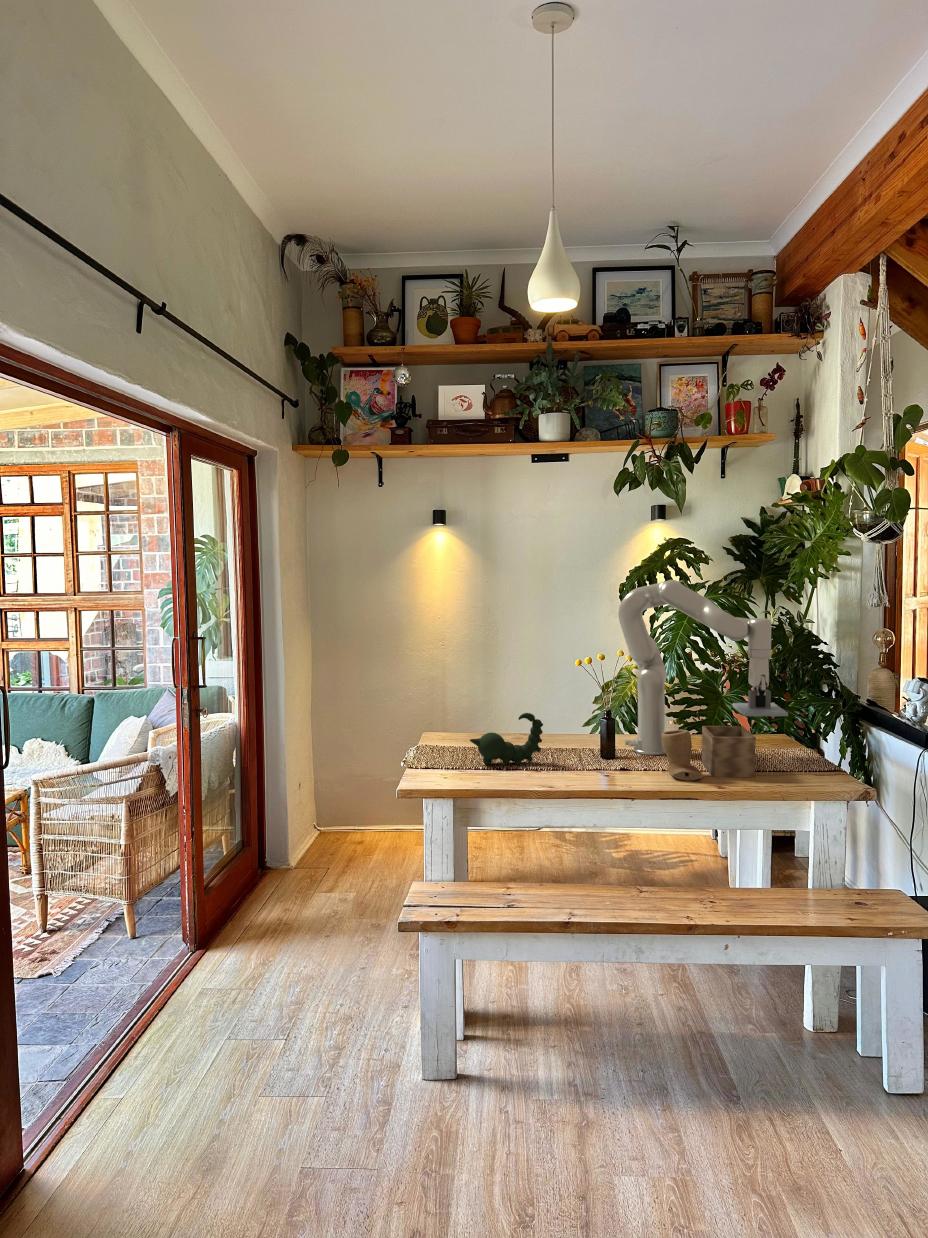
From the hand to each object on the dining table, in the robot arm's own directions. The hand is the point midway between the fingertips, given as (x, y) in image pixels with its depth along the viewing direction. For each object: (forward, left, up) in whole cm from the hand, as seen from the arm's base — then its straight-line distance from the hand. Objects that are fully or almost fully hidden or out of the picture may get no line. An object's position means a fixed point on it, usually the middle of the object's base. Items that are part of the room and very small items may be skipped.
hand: (759, 705), depth 298 cm
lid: (0, 0, -2) cm, 2 cm away
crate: (-14, -17, -19) cm, 29 cm away
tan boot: (-31, -25, -19) cm, 44 cm away
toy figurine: (-88, -12, -19) cm, 91 cm away
